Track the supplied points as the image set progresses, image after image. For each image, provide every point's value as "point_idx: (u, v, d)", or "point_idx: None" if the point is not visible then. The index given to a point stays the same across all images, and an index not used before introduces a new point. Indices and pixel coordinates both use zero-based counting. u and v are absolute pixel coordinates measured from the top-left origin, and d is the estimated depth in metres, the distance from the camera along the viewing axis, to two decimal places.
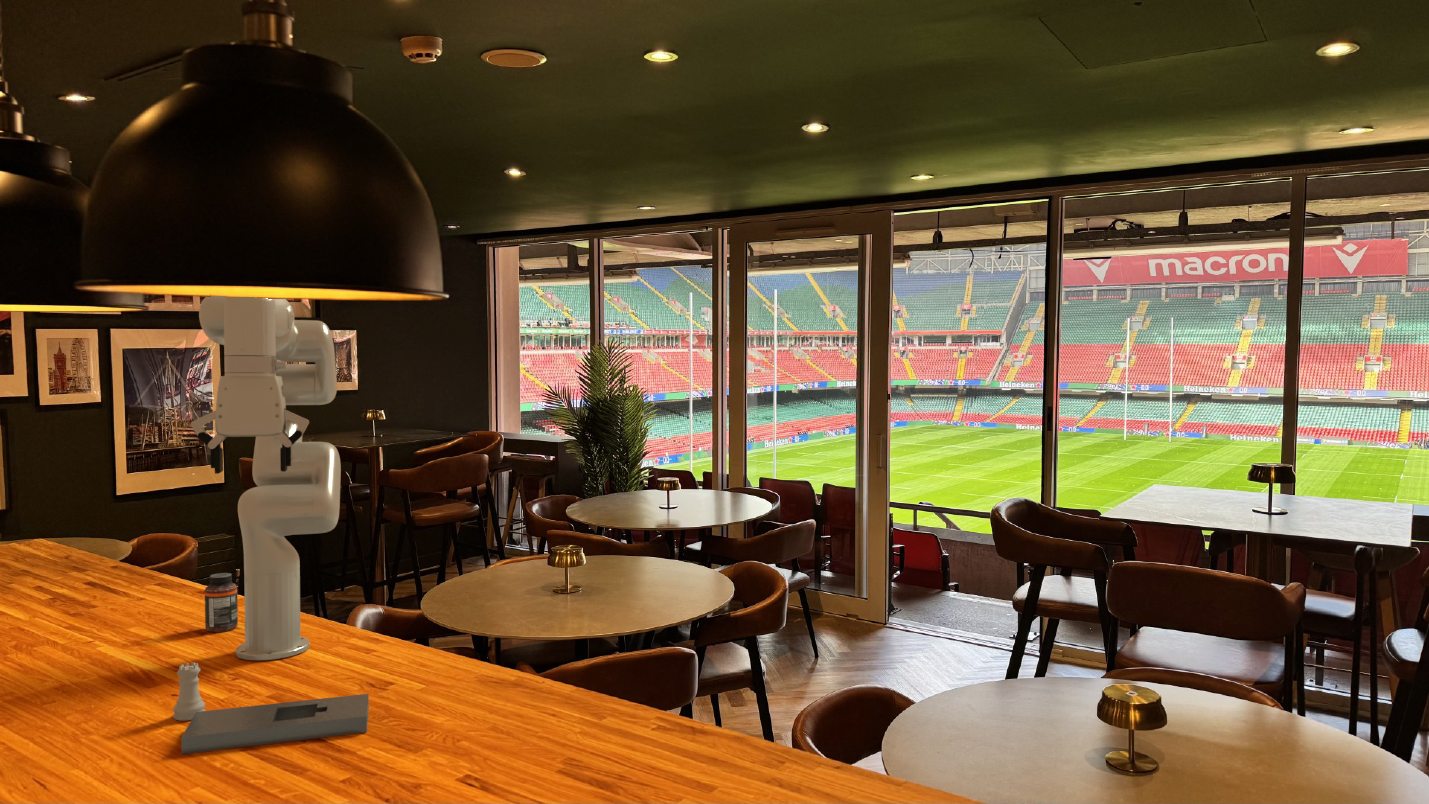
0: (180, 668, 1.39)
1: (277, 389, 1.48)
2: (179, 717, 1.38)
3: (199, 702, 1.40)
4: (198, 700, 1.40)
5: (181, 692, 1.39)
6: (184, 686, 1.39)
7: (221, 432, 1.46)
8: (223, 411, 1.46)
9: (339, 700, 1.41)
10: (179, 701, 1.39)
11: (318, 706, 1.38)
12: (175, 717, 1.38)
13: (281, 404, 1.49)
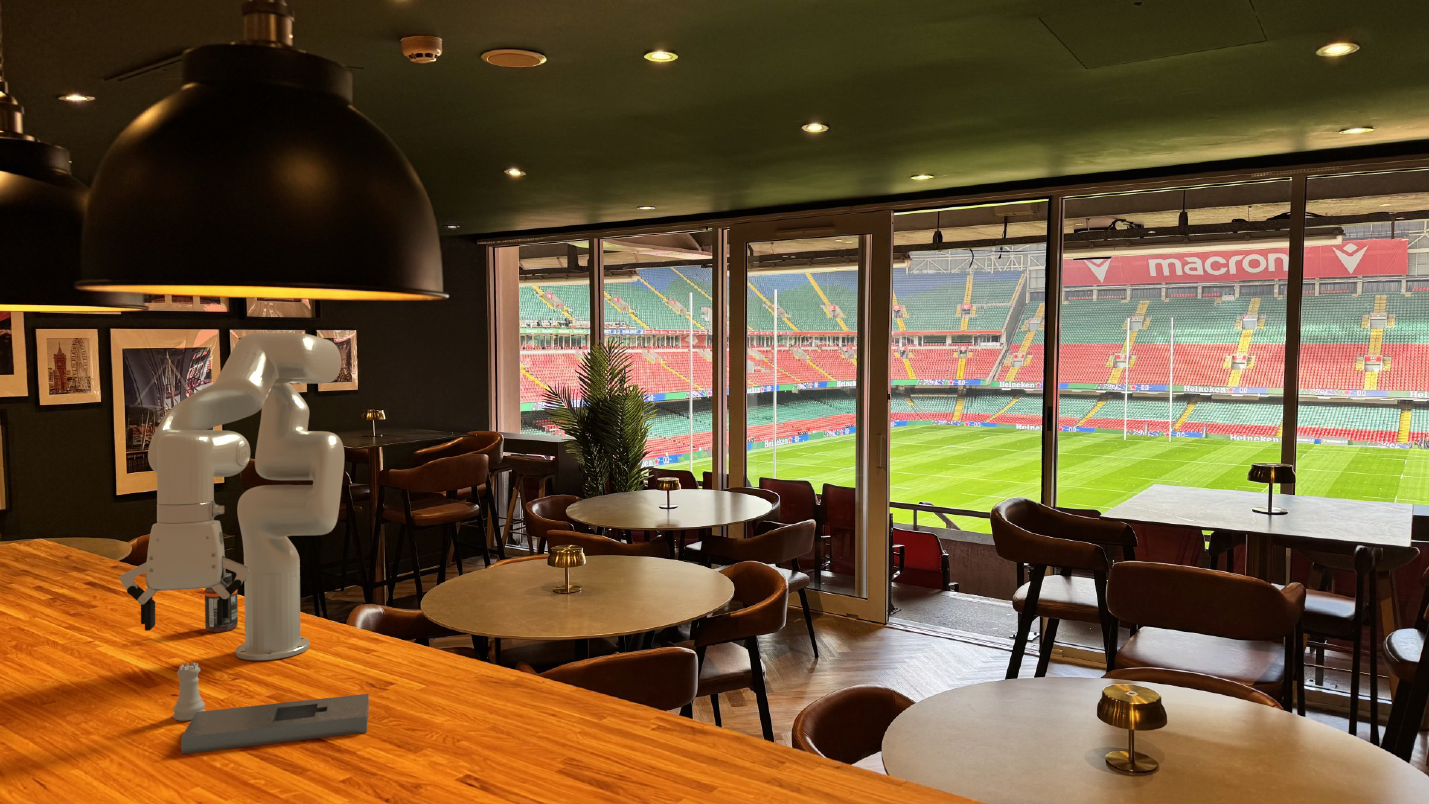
0: (180, 668, 1.39)
1: (214, 538, 1.38)
2: (179, 717, 1.38)
3: (199, 702, 1.40)
4: (198, 700, 1.40)
5: (181, 692, 1.39)
6: (184, 686, 1.39)
7: (152, 586, 1.36)
8: (154, 564, 1.36)
9: (339, 700, 1.41)
10: (179, 701, 1.39)
11: (318, 706, 1.38)
12: (175, 717, 1.38)
13: (218, 553, 1.39)
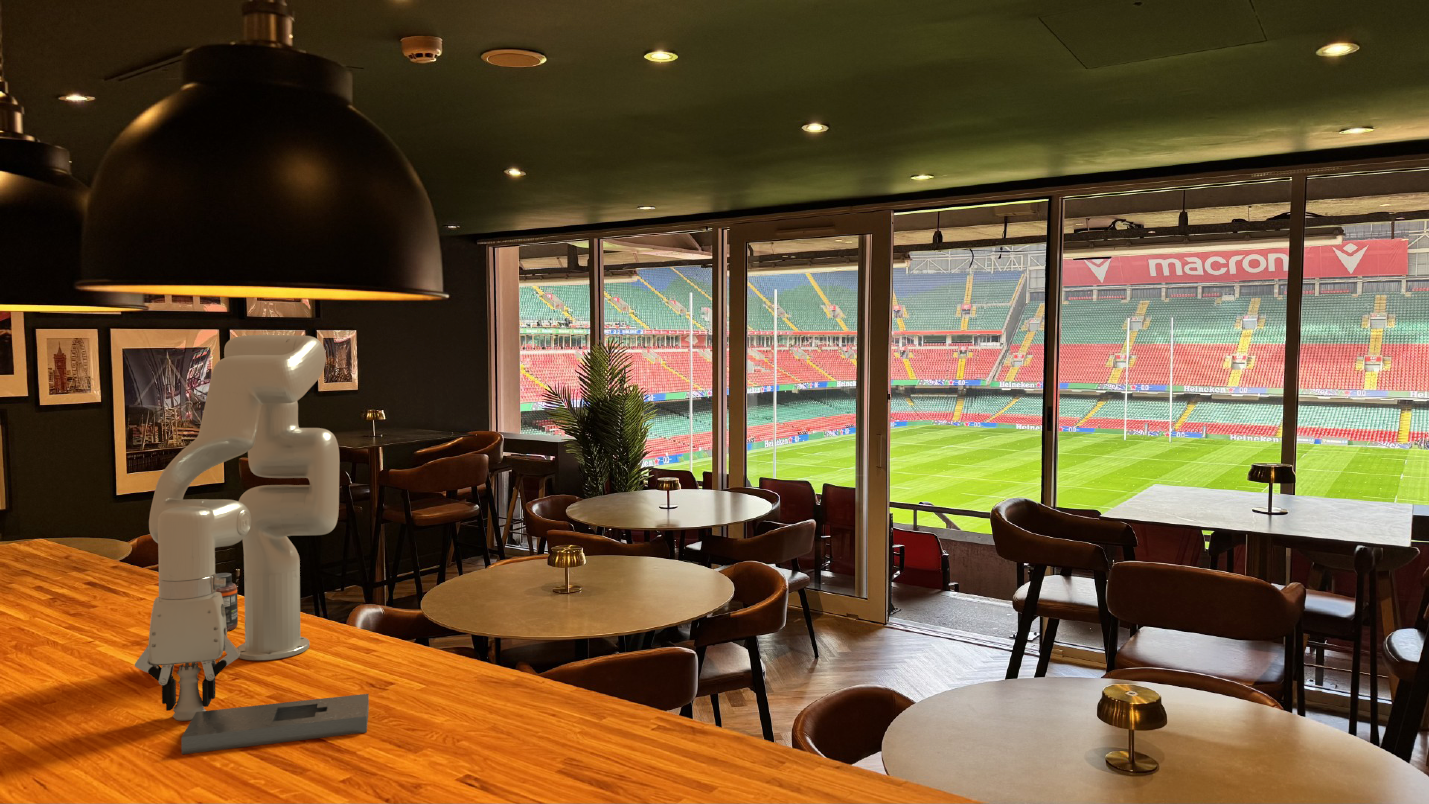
0: (180, 668, 1.39)
1: (216, 611, 1.39)
2: (179, 717, 1.38)
3: (199, 702, 1.40)
4: (198, 700, 1.40)
5: (181, 692, 1.39)
6: (184, 686, 1.39)
7: (155, 661, 1.37)
8: (156, 639, 1.36)
9: (339, 700, 1.41)
10: (179, 701, 1.39)
11: (318, 706, 1.38)
12: (175, 717, 1.38)
13: (220, 627, 1.40)
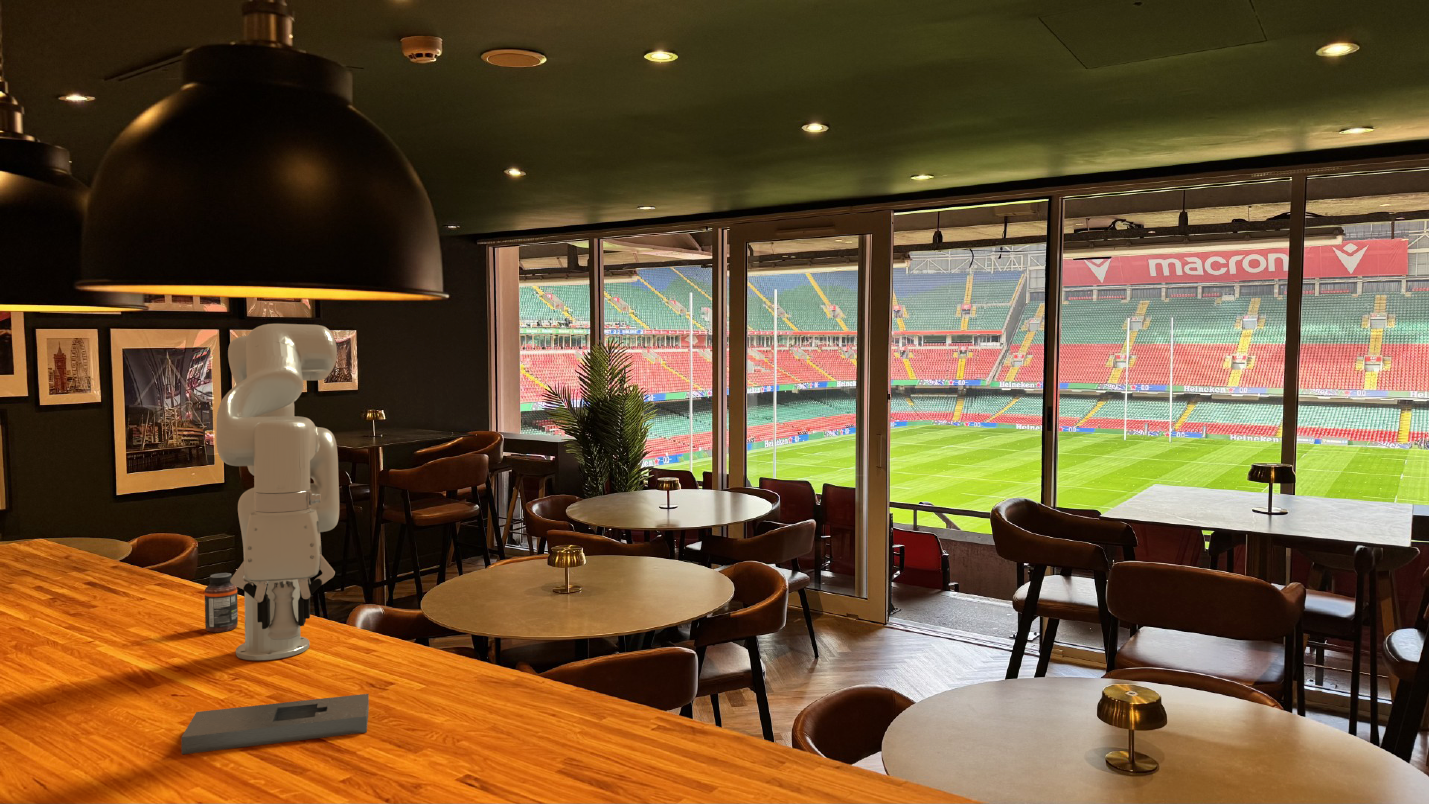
0: (275, 585, 1.34)
1: (312, 527, 1.34)
2: (275, 636, 1.33)
3: (294, 621, 1.35)
4: (293, 619, 1.35)
5: (276, 610, 1.34)
6: (279, 604, 1.34)
7: (251, 577, 1.32)
8: (252, 554, 1.32)
9: (339, 700, 1.41)
10: (274, 619, 1.34)
11: (318, 706, 1.38)
12: (270, 636, 1.33)
13: (316, 543, 1.35)
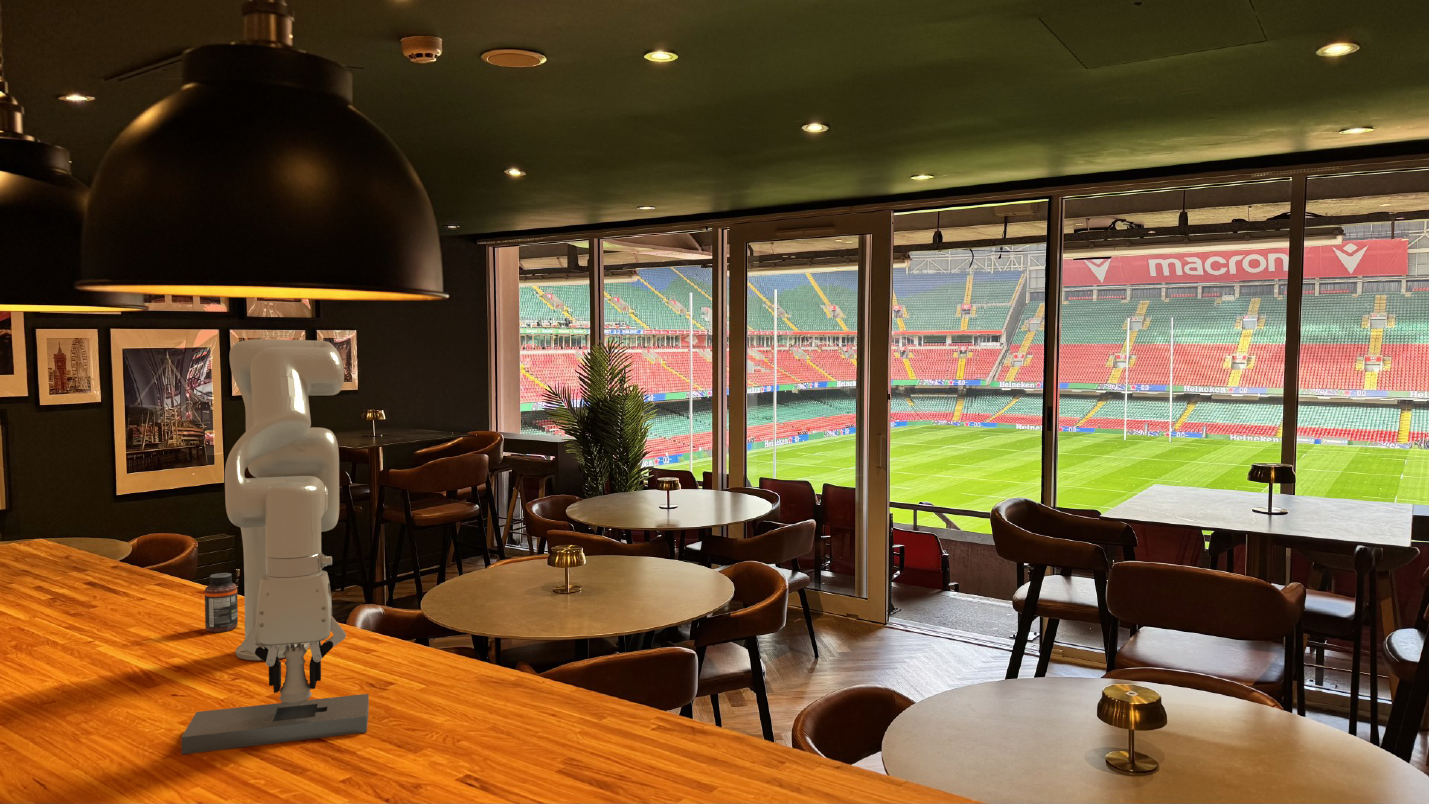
0: (287, 649, 1.34)
1: (323, 590, 1.34)
2: (286, 699, 1.33)
3: (305, 684, 1.35)
4: (305, 682, 1.35)
5: (288, 674, 1.34)
6: (291, 667, 1.34)
7: (262, 642, 1.32)
8: (264, 619, 1.32)
9: (339, 700, 1.41)
10: (286, 683, 1.34)
11: (318, 706, 1.38)
12: (282, 699, 1.33)
13: (328, 606, 1.35)
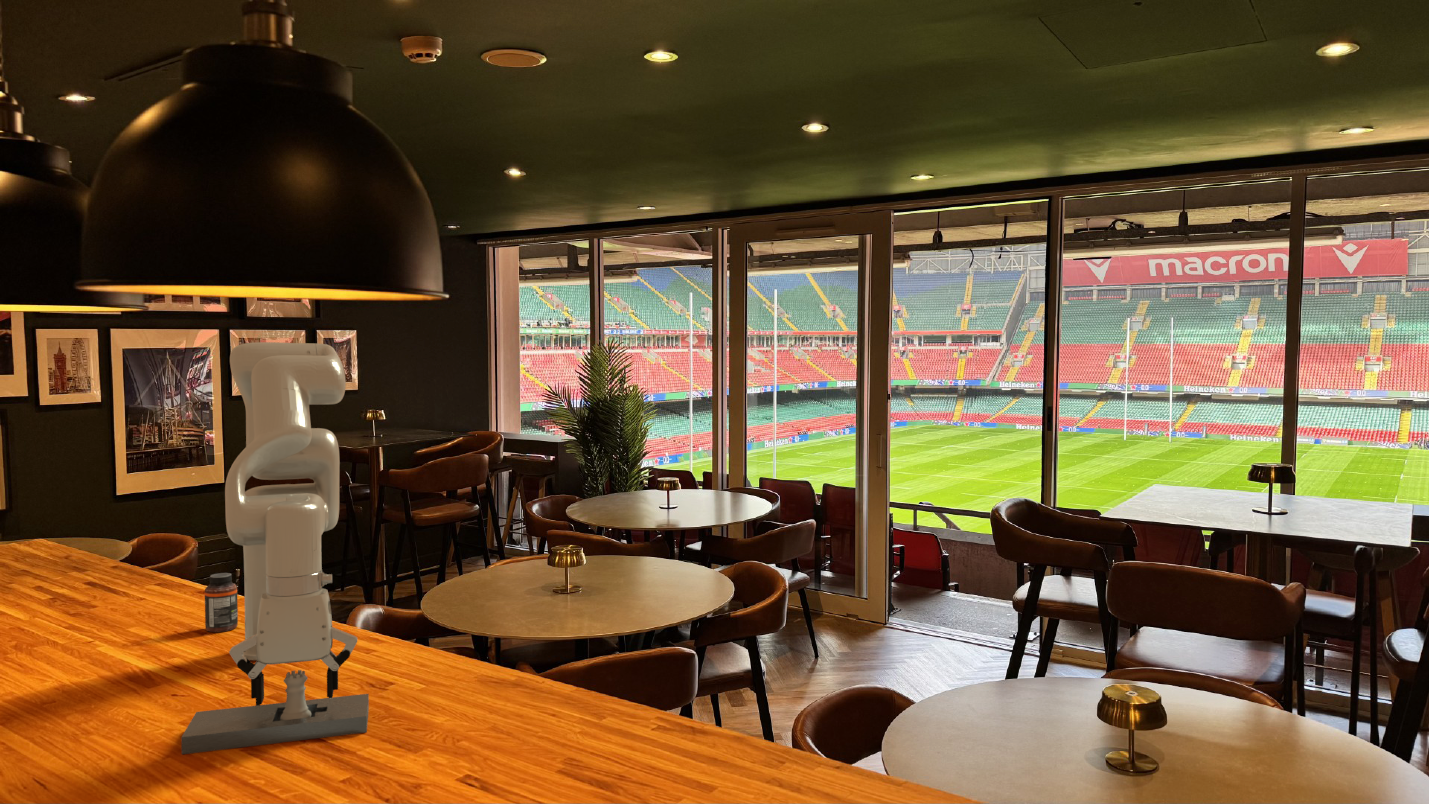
0: (287, 676, 1.34)
1: (324, 609, 1.34)
2: None
3: (306, 711, 1.35)
4: (305, 709, 1.35)
5: (288, 701, 1.34)
6: (292, 695, 1.34)
7: (263, 661, 1.32)
8: (265, 638, 1.32)
9: (339, 700, 1.41)
10: (286, 710, 1.34)
11: (318, 706, 1.38)
12: None
13: (328, 625, 1.35)
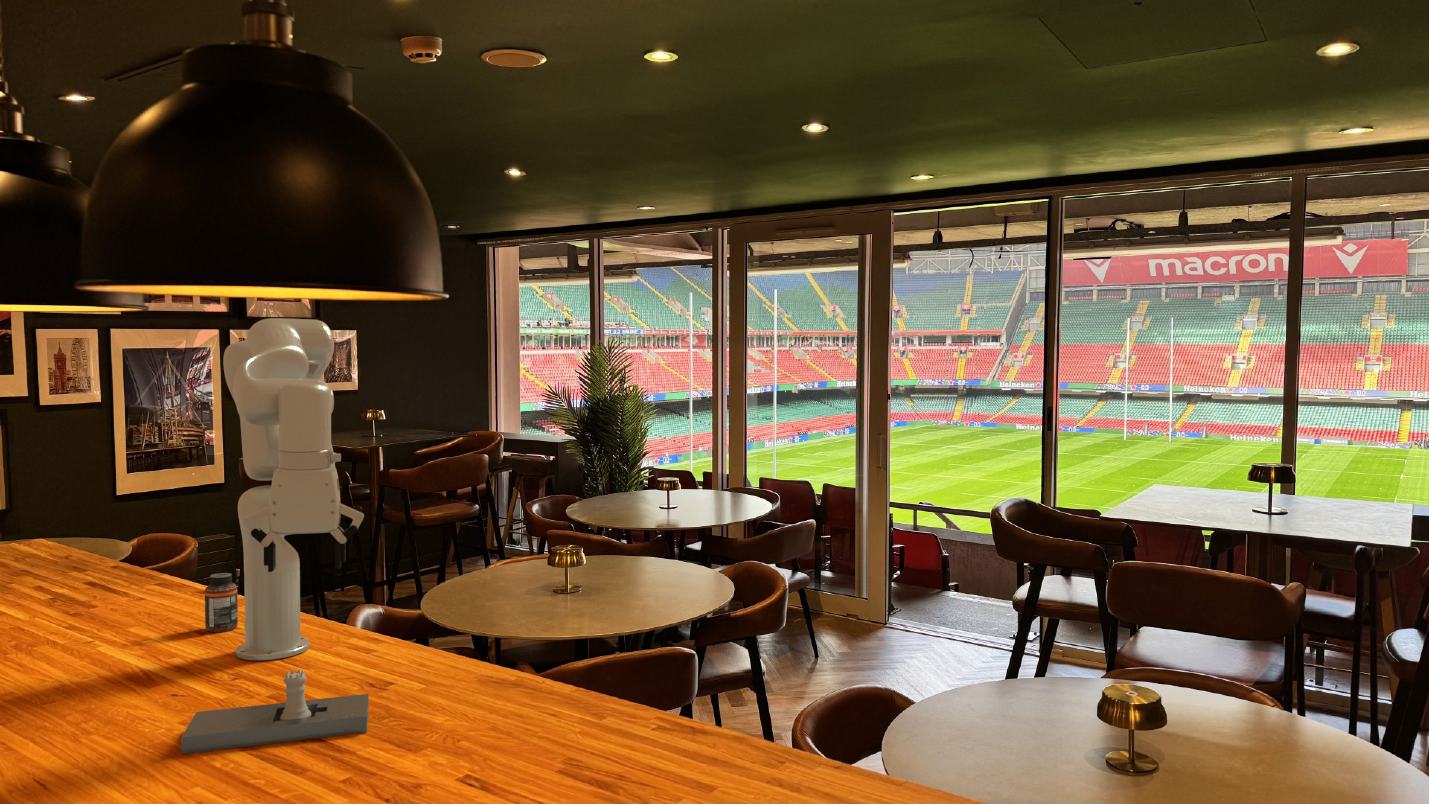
0: (287, 676, 1.34)
1: (332, 484, 1.42)
2: None
3: (306, 711, 1.35)
4: (305, 709, 1.35)
5: (288, 701, 1.34)
6: (291, 695, 1.34)
7: (275, 530, 1.40)
8: (277, 508, 1.40)
9: (339, 700, 1.41)
10: (286, 710, 1.34)
11: (318, 706, 1.38)
12: None
13: (336, 500, 1.43)
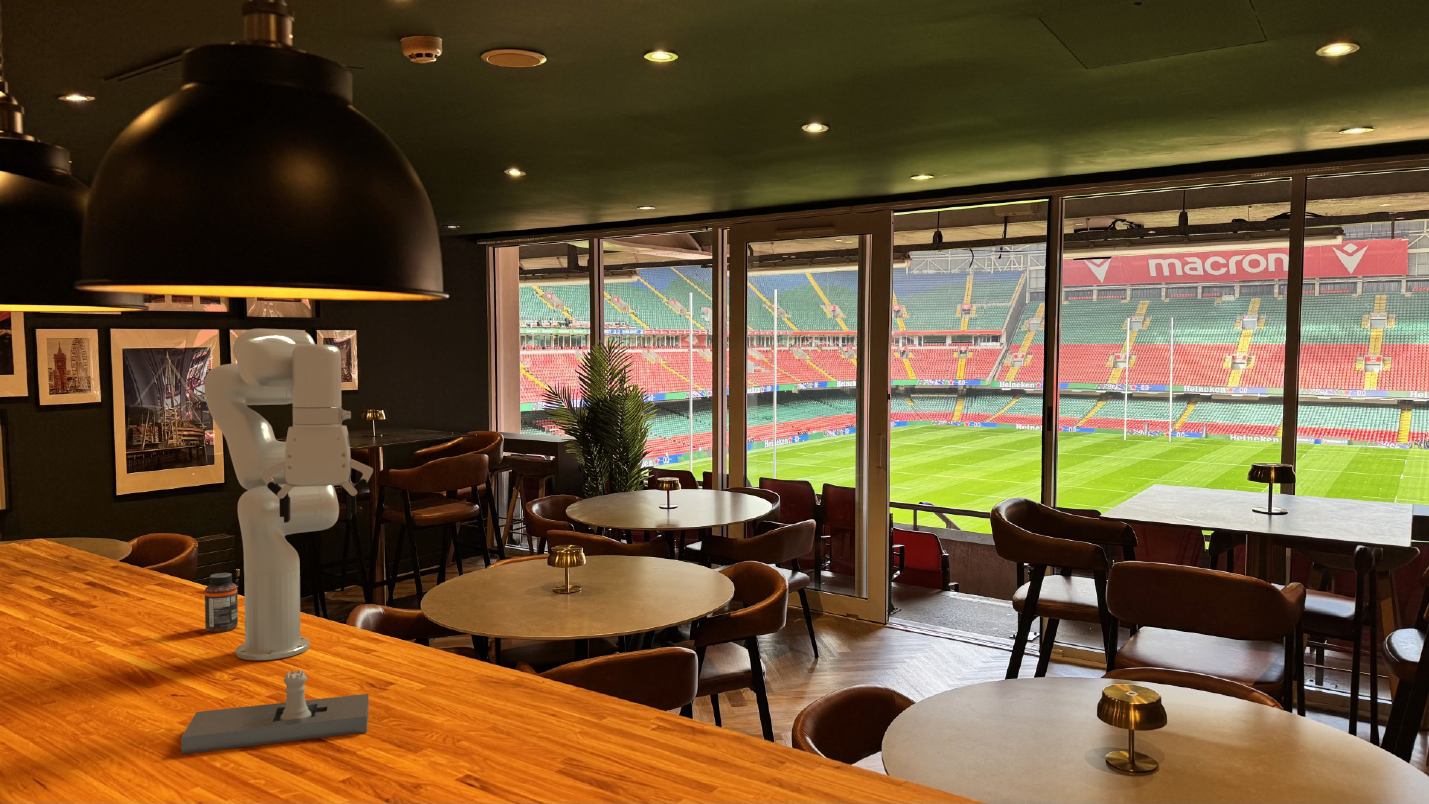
0: (287, 676, 1.34)
1: (344, 439, 1.52)
2: None
3: (306, 711, 1.35)
4: (305, 709, 1.35)
5: (288, 701, 1.34)
6: (291, 695, 1.34)
7: (290, 482, 1.49)
8: (292, 462, 1.49)
9: (339, 700, 1.41)
10: (286, 710, 1.34)
11: (318, 706, 1.38)
12: None
13: (347, 454, 1.52)
